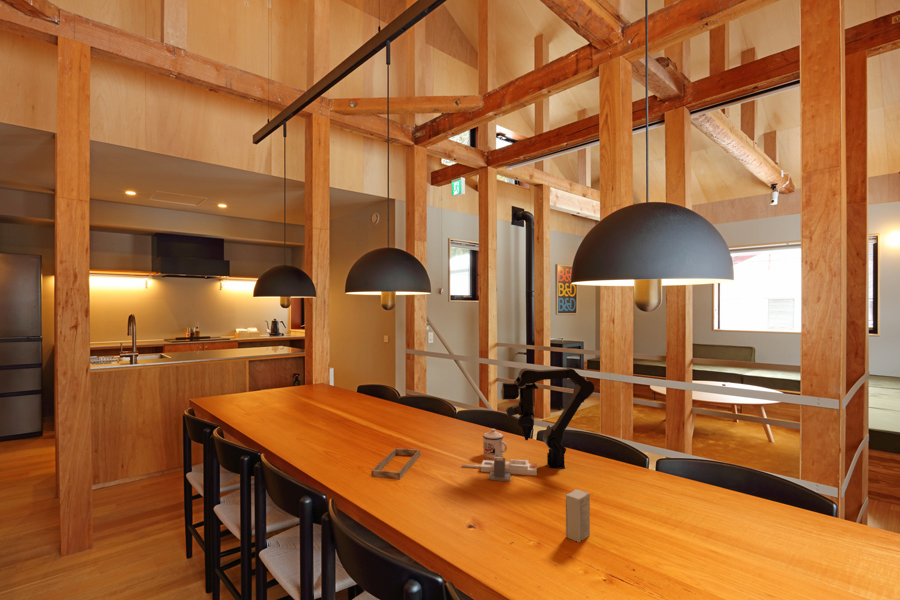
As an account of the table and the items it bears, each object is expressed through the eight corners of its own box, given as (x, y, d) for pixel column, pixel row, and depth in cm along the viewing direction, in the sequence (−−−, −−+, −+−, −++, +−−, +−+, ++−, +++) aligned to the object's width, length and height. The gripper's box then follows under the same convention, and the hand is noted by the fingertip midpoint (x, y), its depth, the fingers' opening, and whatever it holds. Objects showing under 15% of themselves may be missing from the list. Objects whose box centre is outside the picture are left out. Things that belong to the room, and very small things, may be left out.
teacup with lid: (478, 455, 196) (478, 429, 196) (491, 451, 202) (491, 425, 203) (500, 462, 187) (500, 434, 188) (512, 456, 194) (512, 430, 194)
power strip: (536, 468, 179) (536, 457, 179) (536, 475, 172) (536, 464, 172) (463, 463, 186) (463, 453, 186) (460, 469, 178) (460, 459, 178)
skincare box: (577, 530, 129) (576, 488, 129) (590, 535, 126) (590, 492, 126) (565, 537, 125) (564, 494, 125) (578, 543, 121) (578, 499, 122)
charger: (505, 473, 172) (505, 457, 172) (504, 477, 168) (504, 461, 168) (495, 472, 173) (495, 457, 173) (494, 476, 169) (494, 460, 169)
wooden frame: (420, 455, 196) (420, 449, 196) (400, 479, 168) (400, 472, 168) (395, 453, 198) (395, 448, 198) (371, 477, 170) (371, 470, 170)
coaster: (510, 473, 174) (510, 472, 174) (509, 481, 166) (509, 479, 166) (490, 472, 175) (490, 470, 175) (488, 479, 168) (488, 478, 168)
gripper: (508, 394, 194) (508, 430, 193) (505, 403, 175) (505, 442, 175) (534, 395, 192) (534, 431, 191) (533, 404, 173) (534, 444, 173)
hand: (526, 437), depth 183 cm, fingers open, 9 cm apart
